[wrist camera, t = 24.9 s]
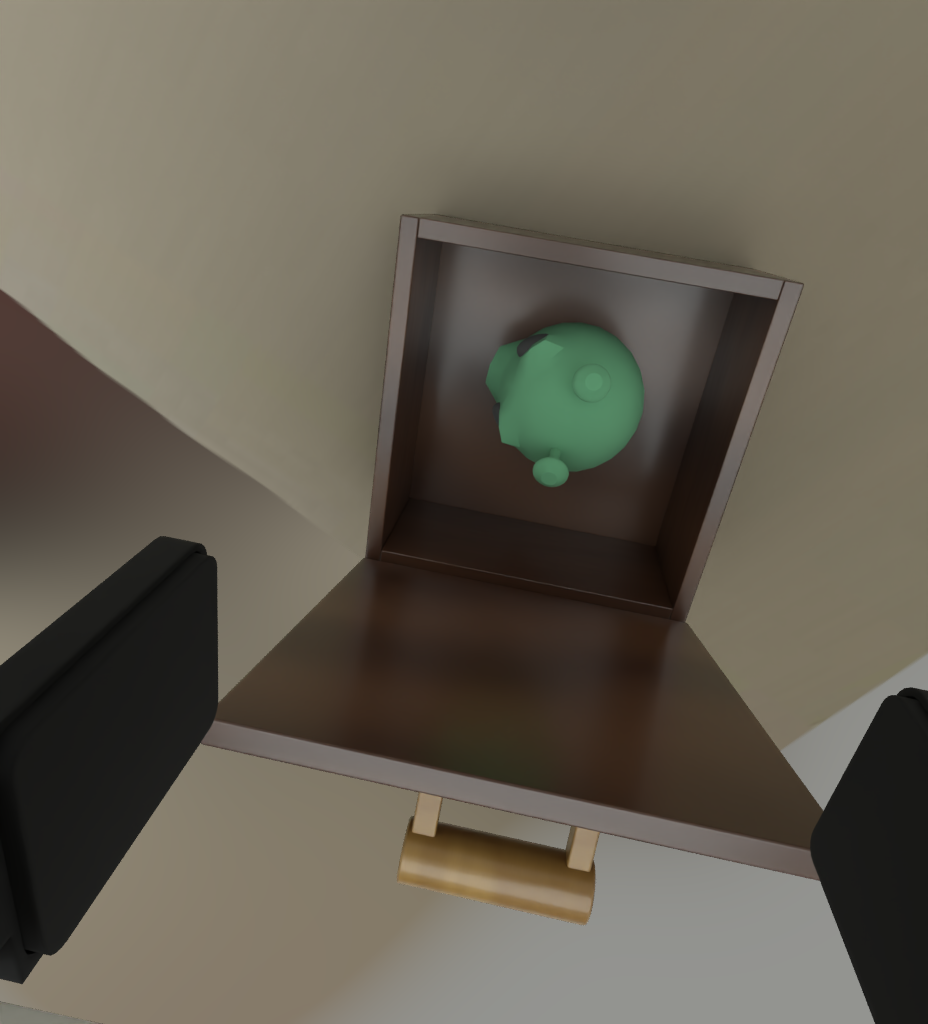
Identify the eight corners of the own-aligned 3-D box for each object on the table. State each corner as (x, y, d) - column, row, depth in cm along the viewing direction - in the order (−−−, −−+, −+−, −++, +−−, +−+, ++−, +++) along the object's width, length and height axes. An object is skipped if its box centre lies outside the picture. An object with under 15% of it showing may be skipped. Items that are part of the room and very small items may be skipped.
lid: (202, 716, 17) (182, 886, 18) (861, 860, 16) (804, 1031, 17) (363, 557, 34) (349, 648, 35) (687, 622, 33) (664, 714, 34)
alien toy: (522, 285, 35) (508, 309, 26) (658, 341, 35) (692, 385, 26) (474, 406, 38) (447, 467, 29) (600, 457, 38) (612, 533, 29)
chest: (433, 213, 35) (400, 214, 28) (754, 269, 34) (805, 283, 27) (397, 501, 42) (364, 560, 35) (663, 553, 41) (684, 625, 34)
